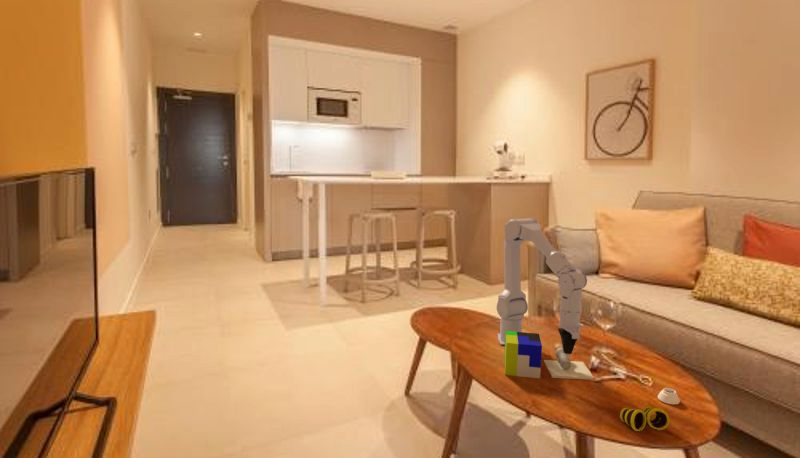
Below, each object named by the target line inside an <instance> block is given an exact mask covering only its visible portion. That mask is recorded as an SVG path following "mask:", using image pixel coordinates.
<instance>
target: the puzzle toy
mask: <svg viewBox="0 0 800 458" xmlns="http://www.w3.org/2000/svg"><path fill="white" fill-rule="evenodd" d="M542 351H543V344H542V341H541V336H540V334H539V333H534V332H523V331H522V332H513V331H506V338H505V345H504V359H503V360H504V375H505V376H511V377H512V376H513V377H514V376H515V377H524V378H534V379H541V367H542V355H543V354H542Z"/></svg>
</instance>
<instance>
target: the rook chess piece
mask: <svg viewBox="0 0 800 458" xmlns="http://www.w3.org/2000/svg"><path fill="white" fill-rule="evenodd" d="M554 356H555V357H556V360H557V361H560V365H561V367H562V368H564V369H568V368H570V367H571V364H572V363H571V361H572V360H570V356H571V354H565V353H564V351H563V346H560V347H558V348H556V349H555V352H554Z"/></svg>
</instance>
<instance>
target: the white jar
mask: <svg viewBox="0 0 800 458" xmlns="http://www.w3.org/2000/svg"><path fill="white" fill-rule="evenodd" d="M657 399H658V400H659V401H661V402H663V403H665V404H668V405H679V404H680V403H681V402H680V398H679V395H678V394H677V391H676V390H675V389H673V388H669V387H664V388H663V389H661V391H660V392H659V393H658V394H657Z"/></svg>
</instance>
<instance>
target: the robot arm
mask: <svg viewBox="0 0 800 458" xmlns="http://www.w3.org/2000/svg"><path fill="white" fill-rule="evenodd" d="M525 241H528V242H529V241H530V242H531V243H533V245H535V247H536V248H537V249H538V250H539V251H540V252H541V253H542V254H543V256H544V257H545V258H546V259H545V264H546V265H547V266H548V268H550V270H551V271H552V272H553V274H554V276H555V277H556V278H557V284H558V287H559V290H560V292H559V293H560V296H561V297H560V312H559V321H558V326H559V327H558V330H557V331H558V332H559V335H560V339H561V345H562V346H561V347H563V351H564V353H565V354H570V355H572V354H573V351H574V348H575V345H576V343H577V341H578V340H580V339H581V338H580V337H581V332H580V330H581V329H583V328H585V327H584V324H583V323H581V311H582V299H583V298H582V296H583V289H584V288H585V287H586V286H587V285H588V284H587V283H588V278H587V275H586V274H585V272H584V271H583V270H582V269H577V268H576V267H575V266H574V265H573V264H572V263H571V262H570V261H569V259H568V258H567V257H566V256H567V255H566V254H565V253H564V252H561V251H558V250H557V251H556V249H555V248H554V246H553V245H552V243H551V242H550V241H549V240H548V238H547V237H546V235H545V234H544V233H543V231H542V226H541V224H540V223H539V222H538V220H537V219H536V218H534V217H529V218H516V219H515V218H512V219H509V220H508V221H507V222H506V223H505V224H504V238H503V262H504V263H503V267H504V268H503V270H504V271H503V273H504V275H503V277H504V278H503V279H504V280H503V281H504V282H503V283H504V289H503V290H502V291H501V292H500V294H499V295H498V296H497V297H498V299H497V303H496V312H497V314H498V316H499V317H500V326H499V328H500V331H499V332H500V333H497V334H496V335H498V336H497V339H498V341H499V345H501V346H502V345H503V346H505V338H506V331H513V332H523V330H522V329H523V318H524V317H525V314H526V313H527V312H528V309H529V305H528V302H527V295H526V294H525V292H523V291H522V289H521V245H522V244H523V243H524V242H525Z"/></svg>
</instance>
